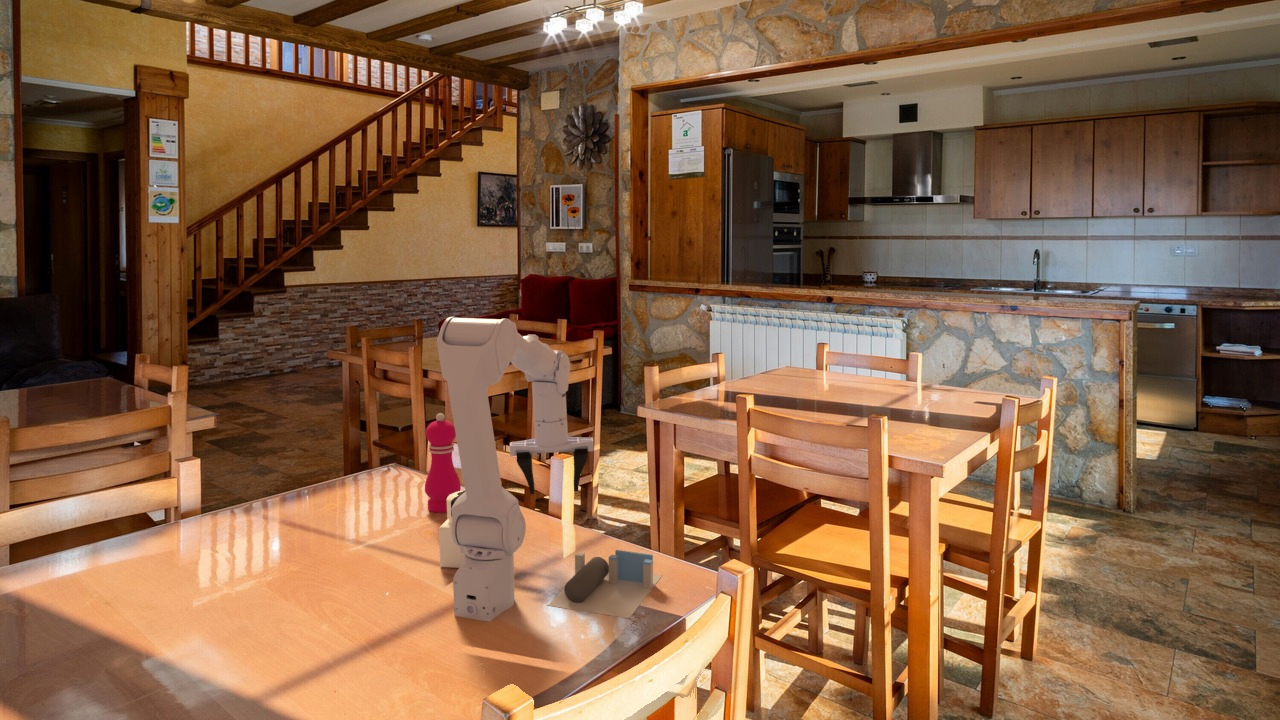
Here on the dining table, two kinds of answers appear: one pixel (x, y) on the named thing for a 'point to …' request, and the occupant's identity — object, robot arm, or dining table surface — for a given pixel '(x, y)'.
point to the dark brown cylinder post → (586, 579)
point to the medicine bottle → (449, 538)
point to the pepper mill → (441, 464)
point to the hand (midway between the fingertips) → (554, 490)
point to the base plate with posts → (615, 585)
